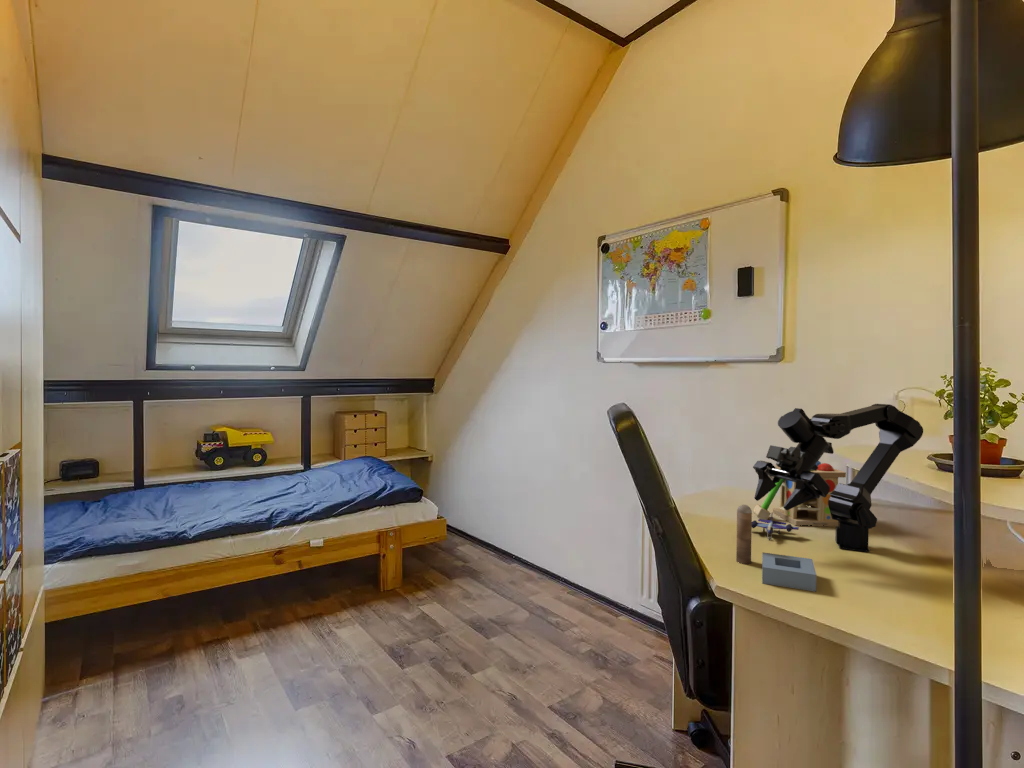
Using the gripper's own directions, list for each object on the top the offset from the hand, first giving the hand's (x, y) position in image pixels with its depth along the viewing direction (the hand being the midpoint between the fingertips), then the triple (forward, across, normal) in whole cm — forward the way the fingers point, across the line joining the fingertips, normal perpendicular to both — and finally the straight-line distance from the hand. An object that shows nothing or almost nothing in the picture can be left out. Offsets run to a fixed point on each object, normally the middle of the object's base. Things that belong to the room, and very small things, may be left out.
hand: (769, 504), depth 128 cm
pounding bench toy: (-12, -24, +33) cm, 43 cm away
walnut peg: (+15, 0, +4) cm, 15 cm away
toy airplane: (+1, -14, +19) cm, 23 cm away
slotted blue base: (+14, +11, +5) cm, 18 cm away
